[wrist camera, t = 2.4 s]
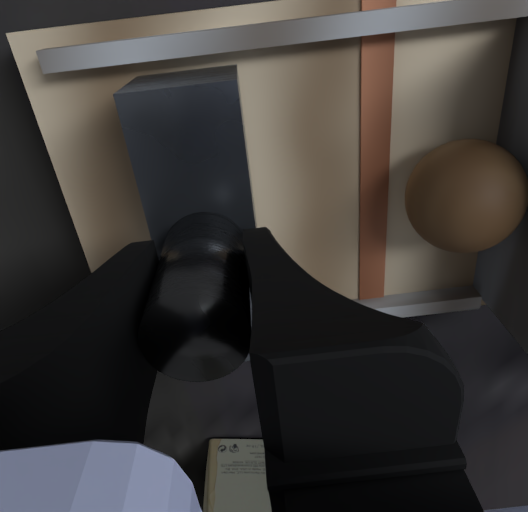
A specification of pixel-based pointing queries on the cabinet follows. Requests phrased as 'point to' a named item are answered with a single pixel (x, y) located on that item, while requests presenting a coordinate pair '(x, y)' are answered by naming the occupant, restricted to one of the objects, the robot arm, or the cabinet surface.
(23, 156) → the cabinet surface
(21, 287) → the cabinet surface
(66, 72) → the press
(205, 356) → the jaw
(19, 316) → the cabinet surface
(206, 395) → the cabinet surface
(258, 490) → the skincare box
